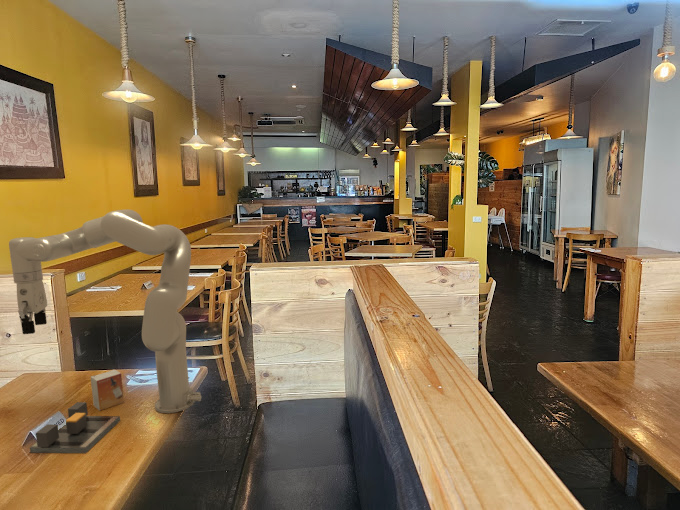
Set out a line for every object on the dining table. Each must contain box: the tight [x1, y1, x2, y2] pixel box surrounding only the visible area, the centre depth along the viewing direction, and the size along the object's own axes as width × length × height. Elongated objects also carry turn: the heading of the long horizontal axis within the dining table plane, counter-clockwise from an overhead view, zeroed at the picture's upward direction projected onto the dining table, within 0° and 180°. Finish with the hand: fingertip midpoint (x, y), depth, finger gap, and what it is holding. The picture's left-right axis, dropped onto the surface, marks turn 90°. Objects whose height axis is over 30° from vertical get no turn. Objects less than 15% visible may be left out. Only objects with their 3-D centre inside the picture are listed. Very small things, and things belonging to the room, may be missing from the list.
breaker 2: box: [67, 401, 89, 418], centre depth 135 cm, size 3×4×4 cm
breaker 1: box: [35, 423, 59, 447], centre depth 122 cm, size 3×4×4 cm
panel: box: [29, 415, 121, 454], centre depth 129 cm, size 16×17×2 cm
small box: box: [90, 369, 125, 412], centre depth 147 cm, size 8×6×10 cm
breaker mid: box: [65, 413, 87, 434], centre depth 128 cm, size 3×4×4 cm
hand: (35, 328), depth 140 cm, fingers open, 9 cm apart
